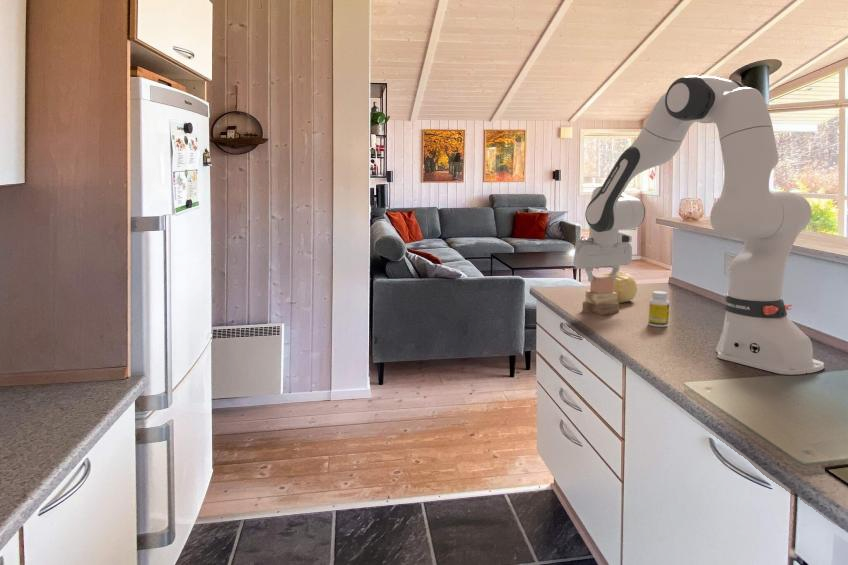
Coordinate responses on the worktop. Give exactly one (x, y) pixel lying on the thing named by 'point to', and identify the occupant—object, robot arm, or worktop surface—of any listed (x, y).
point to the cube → (602, 284)
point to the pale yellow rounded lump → (624, 287)
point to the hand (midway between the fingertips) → (601, 280)
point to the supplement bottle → (658, 309)
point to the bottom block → (600, 308)
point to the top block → (601, 298)
